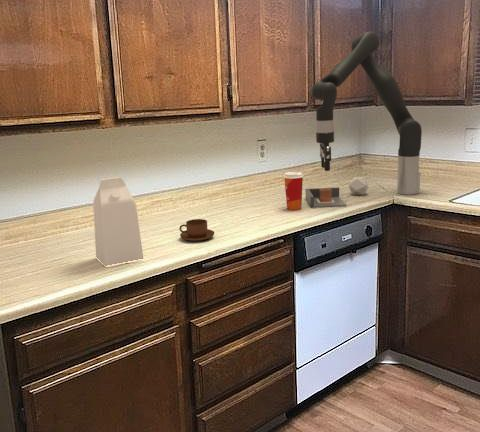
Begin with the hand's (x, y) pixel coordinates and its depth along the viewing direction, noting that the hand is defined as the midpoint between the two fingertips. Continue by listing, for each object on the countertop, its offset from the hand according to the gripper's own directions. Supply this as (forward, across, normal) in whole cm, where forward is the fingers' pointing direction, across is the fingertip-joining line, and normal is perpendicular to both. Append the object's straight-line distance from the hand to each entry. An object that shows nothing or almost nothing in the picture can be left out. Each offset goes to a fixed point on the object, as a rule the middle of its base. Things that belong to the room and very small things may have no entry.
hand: (325, 169), depth 233 cm
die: (+15, -14, +17) cm, 27 cm away
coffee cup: (+15, +8, -15) cm, 23 cm away
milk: (+14, +67, -76) cm, 103 cm away
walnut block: (+14, 0, 0) cm, 14 cm away
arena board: (+15, 0, 0) cm, 15 cm away
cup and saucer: (+15, +47, -53) cm, 72 cm away
